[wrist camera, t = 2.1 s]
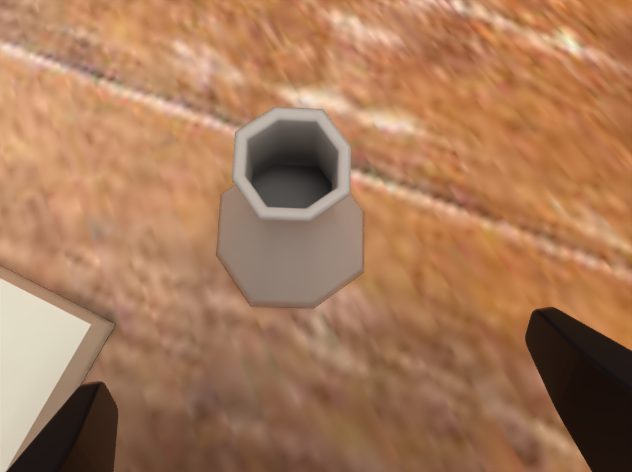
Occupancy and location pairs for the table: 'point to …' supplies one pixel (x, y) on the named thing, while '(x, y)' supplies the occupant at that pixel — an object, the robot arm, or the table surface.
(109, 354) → the table surface
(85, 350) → the tray
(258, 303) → the flask
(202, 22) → the table surface
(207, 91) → the table surface
